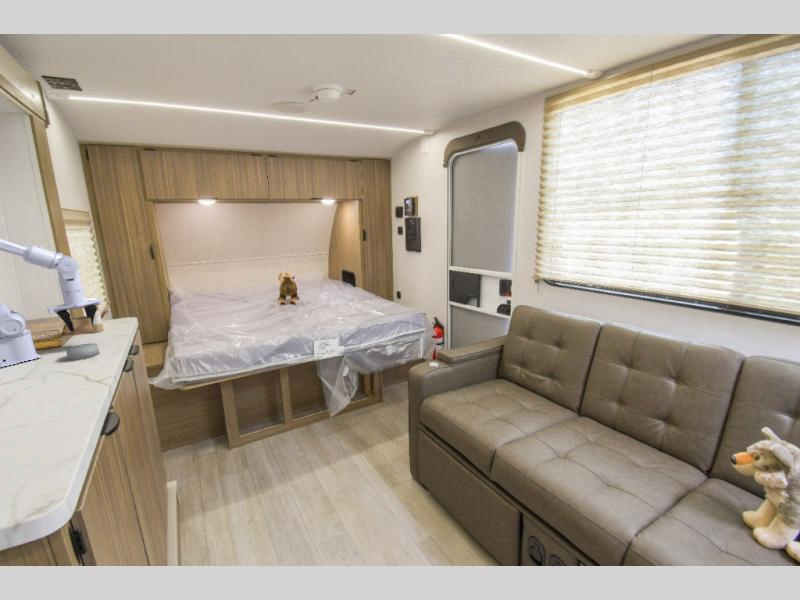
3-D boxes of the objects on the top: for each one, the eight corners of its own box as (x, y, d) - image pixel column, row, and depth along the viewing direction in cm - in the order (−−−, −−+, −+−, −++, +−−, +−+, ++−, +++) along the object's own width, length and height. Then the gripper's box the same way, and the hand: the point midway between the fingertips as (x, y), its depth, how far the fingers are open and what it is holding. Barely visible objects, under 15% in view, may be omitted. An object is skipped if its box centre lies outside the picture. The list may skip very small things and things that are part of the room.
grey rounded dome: (73, 362, 117) (70, 353, 116) (64, 357, 121) (62, 349, 120) (103, 354, 123) (101, 345, 122) (94, 349, 127) (92, 341, 127)
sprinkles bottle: (87, 332, 147) (79, 300, 144) (99, 329, 151) (92, 297, 148) (94, 333, 145) (86, 301, 142) (106, 330, 149) (99, 298, 146)
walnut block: (76, 335, 126) (72, 321, 125) (70, 333, 129) (67, 319, 128) (93, 331, 131) (90, 318, 129) (88, 329, 133) (85, 316, 132)
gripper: (48, 296, 118) (58, 336, 121) (102, 288, 130) (110, 324, 133) (41, 294, 122) (51, 332, 125) (94, 286, 134) (102, 321, 137)
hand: (81, 328), depth 130 cm, fingers closed on walnut block, 5 cm apart
